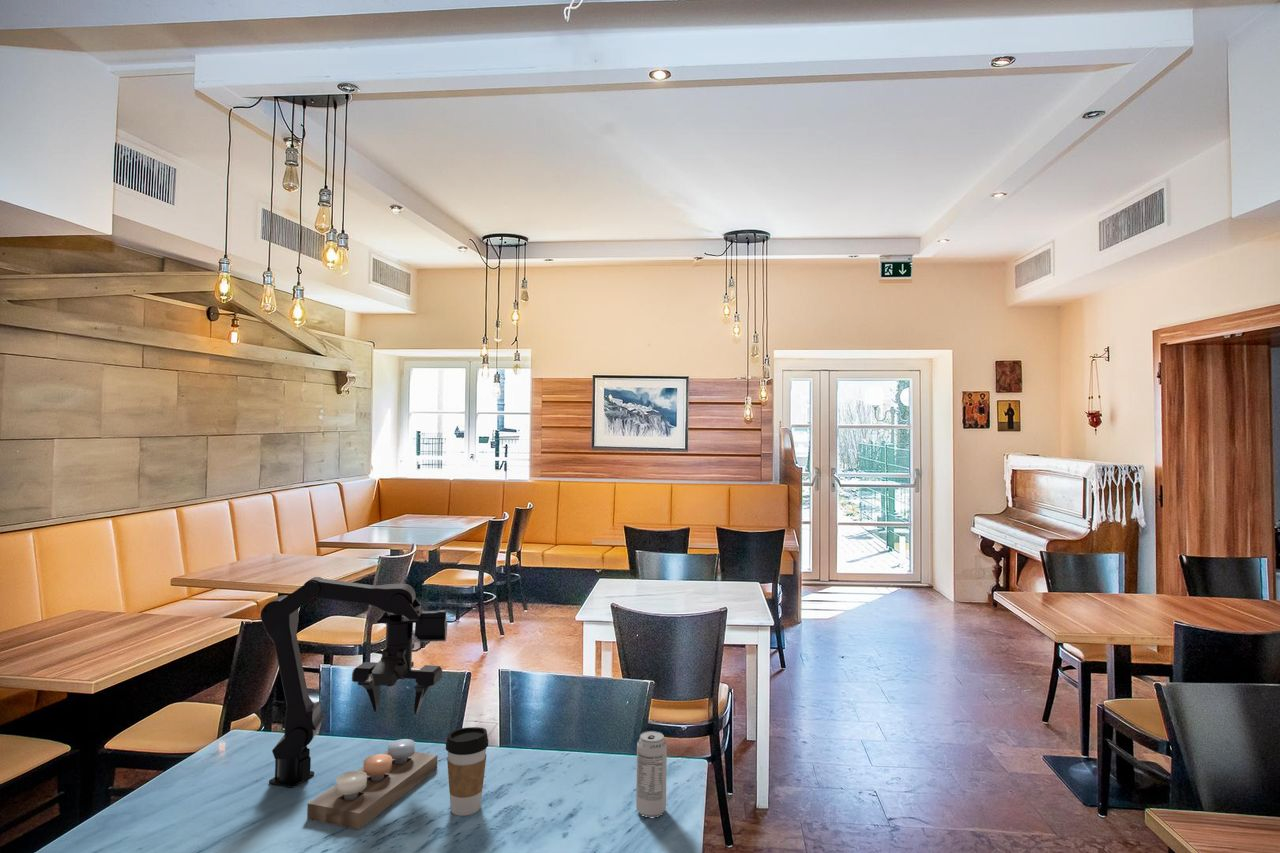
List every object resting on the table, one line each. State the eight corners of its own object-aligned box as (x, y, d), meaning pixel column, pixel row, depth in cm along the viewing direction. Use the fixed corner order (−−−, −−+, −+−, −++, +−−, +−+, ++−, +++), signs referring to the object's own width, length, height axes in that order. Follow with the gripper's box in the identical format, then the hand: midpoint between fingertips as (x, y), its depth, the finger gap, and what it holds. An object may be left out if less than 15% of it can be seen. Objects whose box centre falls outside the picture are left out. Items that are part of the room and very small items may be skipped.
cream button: (329, 807, 133) (330, 781, 133) (349, 793, 138) (349, 769, 138) (353, 812, 131) (354, 786, 131) (372, 798, 137) (373, 773, 137)
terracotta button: (356, 788, 140) (357, 763, 141) (374, 776, 146) (375, 752, 146) (380, 792, 139) (380, 767, 139) (397, 780, 144) (397, 756, 144)
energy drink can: (669, 807, 138) (670, 732, 138) (660, 822, 132) (661, 744, 133) (641, 801, 140) (642, 728, 140) (631, 816, 134) (632, 739, 135)
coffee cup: (476, 821, 131) (477, 743, 132) (436, 816, 133) (438, 738, 134) (493, 800, 140) (495, 726, 140) (456, 795, 141) (457, 722, 142)
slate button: (381, 771, 148) (382, 747, 148) (397, 760, 153) (398, 737, 154) (403, 774, 147) (404, 751, 147) (419, 763, 152) (419, 740, 152)
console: (307, 819, 131) (307, 803, 132) (391, 761, 156) (391, 747, 157) (359, 829, 128) (359, 813, 128) (437, 768, 153) (437, 755, 153)
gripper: (340, 650, 145) (337, 724, 144) (425, 654, 144) (422, 729, 143) (365, 636, 156) (362, 705, 155) (444, 640, 155) (441, 709, 154)
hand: (396, 712), depth 152 cm, fingers open, 9 cm apart
